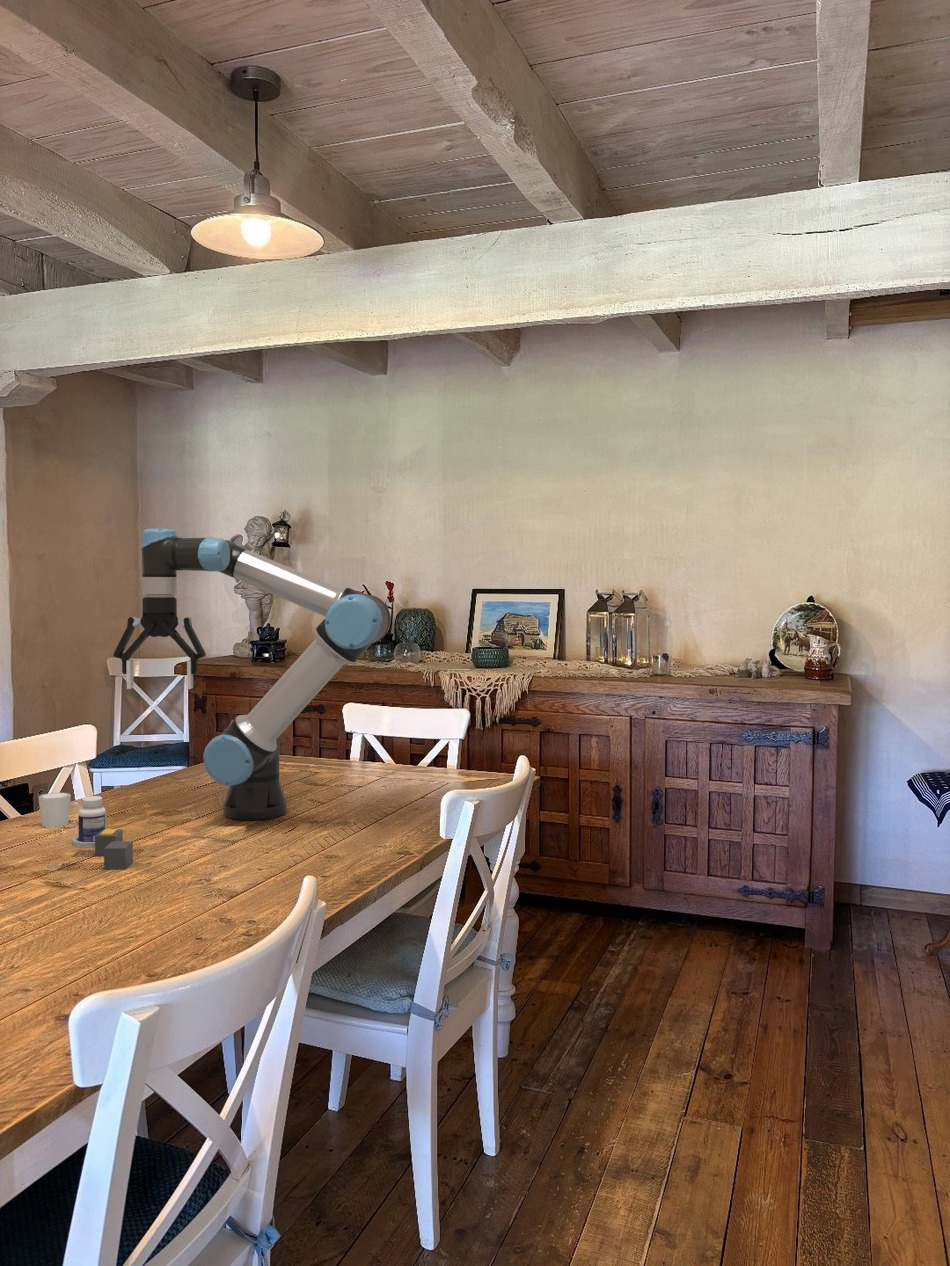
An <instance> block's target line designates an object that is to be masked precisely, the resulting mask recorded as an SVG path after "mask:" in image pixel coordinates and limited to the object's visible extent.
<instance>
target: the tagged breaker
mask: <svg viewBox="0 0 950 1266" xmlns="http://www.w3.org/2000/svg"><path fill="white" fill-rule="evenodd" d="M123 837H124V836H123V829H117V828H106V829H105V830H102V831H101V832H99V833H98V834H97V835H96V836H95V848H94V853H95V854H94V855H95V856H96V857H97V856H104V848H105V847H106V846H107V845H108V844H110V843H111V842H112V841H124V838H123Z"/></svg>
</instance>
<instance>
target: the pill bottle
mask: <svg viewBox="0 0 950 1266" xmlns="http://www.w3.org/2000/svg"><path fill="white" fill-rule="evenodd" d="M81 806H82V807H81V808H80V809H78V819H77V820H78V836H79V841H80V842H95V836H96V835H97V834H98V833H99V832H101V831H102V830H105V829H107V810H106V808H105V807H103V797H102V796H99V795H91V796H85V797H82V800H81Z"/></svg>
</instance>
